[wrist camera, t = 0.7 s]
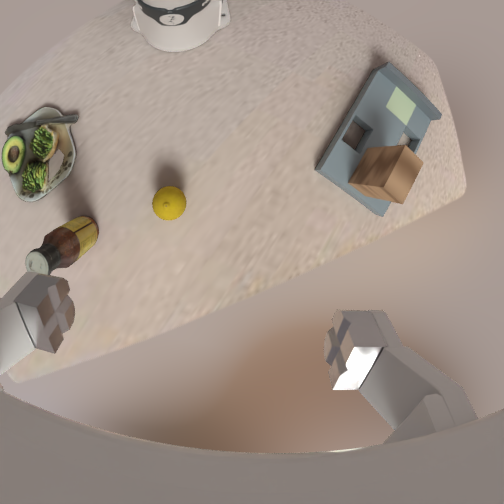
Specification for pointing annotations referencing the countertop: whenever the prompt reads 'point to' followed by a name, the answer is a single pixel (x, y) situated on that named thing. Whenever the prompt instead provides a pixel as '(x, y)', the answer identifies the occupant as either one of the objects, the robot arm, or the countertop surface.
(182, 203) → the lemon
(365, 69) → the countertop surface
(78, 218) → the sauce bottle
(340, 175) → the deck
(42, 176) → the salad plate
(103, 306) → the countertop surface
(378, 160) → the block
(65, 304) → the robot arm
